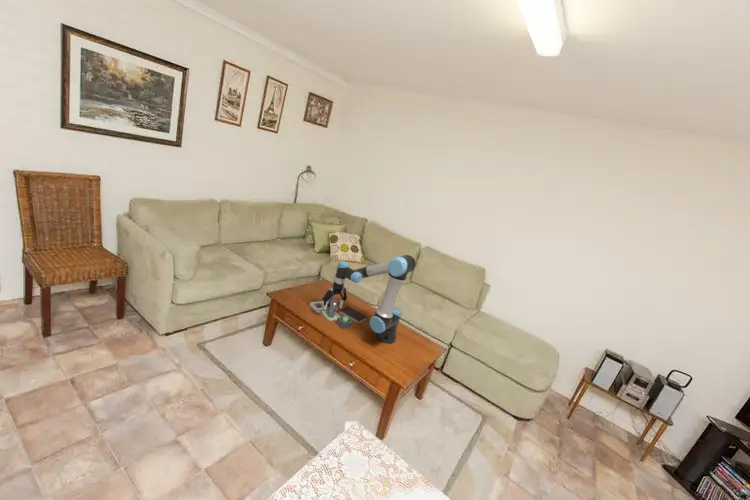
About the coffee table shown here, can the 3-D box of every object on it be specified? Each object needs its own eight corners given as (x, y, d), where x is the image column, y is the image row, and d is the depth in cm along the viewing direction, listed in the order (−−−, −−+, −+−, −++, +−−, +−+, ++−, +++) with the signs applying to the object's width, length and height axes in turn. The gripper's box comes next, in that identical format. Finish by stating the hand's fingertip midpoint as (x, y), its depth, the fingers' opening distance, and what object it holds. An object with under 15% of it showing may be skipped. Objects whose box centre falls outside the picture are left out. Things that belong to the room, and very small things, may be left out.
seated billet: (332, 309, 270) (336, 295, 267) (327, 309, 267) (330, 295, 264) (329, 306, 274) (332, 292, 270) (323, 306, 270) (327, 292, 267)
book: (347, 309, 277) (348, 305, 277) (367, 319, 269) (368, 316, 268) (338, 313, 267) (338, 309, 266) (358, 324, 258) (359, 320, 257)
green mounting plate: (340, 319, 257) (340, 317, 257) (328, 321, 251) (329, 318, 250) (332, 312, 265) (333, 309, 265) (321, 313, 259) (321, 311, 258)
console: (351, 328, 250) (352, 322, 248) (341, 329, 245) (343, 323, 243) (345, 322, 256) (346, 316, 254) (336, 323, 251) (337, 317, 249)
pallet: (337, 311, 269) (337, 307, 268) (316, 313, 257) (317, 309, 257) (329, 303, 277) (330, 300, 277) (309, 305, 266) (310, 302, 265)
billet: (335, 317, 258) (339, 303, 254) (329, 318, 255) (333, 303, 251) (332, 314, 261) (335, 299, 258) (326, 314, 258) (329, 300, 255)
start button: (347, 324, 250) (349, 318, 248) (343, 325, 247) (344, 319, 246) (344, 322, 252) (346, 316, 251) (340, 322, 250) (341, 316, 249)
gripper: (350, 279, 261) (343, 304, 267) (321, 280, 245) (315, 307, 251) (355, 283, 256) (349, 309, 261) (326, 285, 240) (320, 312, 246)
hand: (332, 308), depth 256 cm, fingers open, 13 cm apart
